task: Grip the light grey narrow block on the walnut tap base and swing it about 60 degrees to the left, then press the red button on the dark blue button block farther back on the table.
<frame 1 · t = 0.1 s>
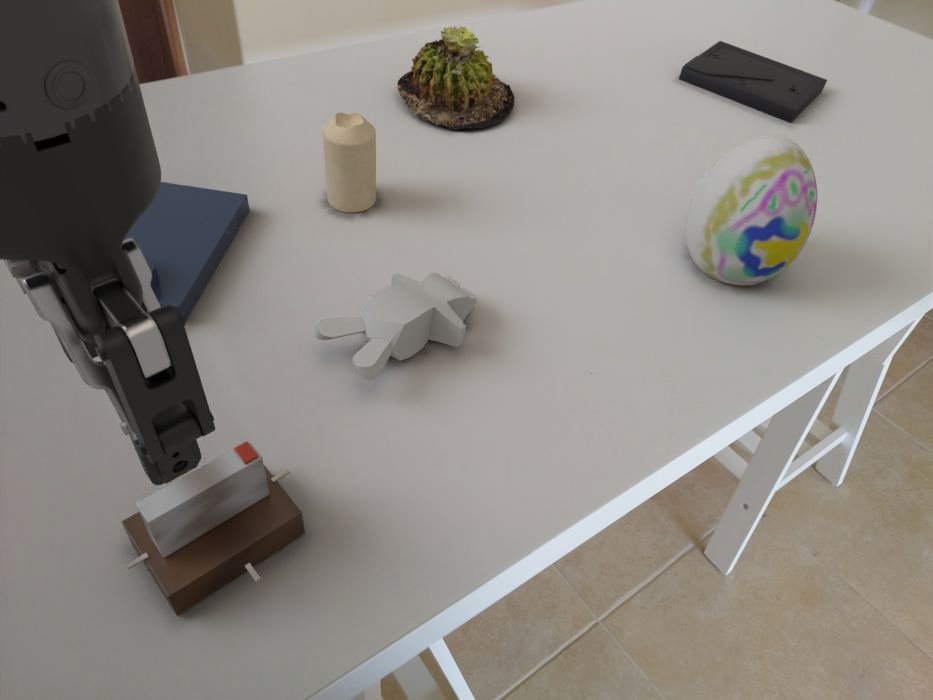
hand: (132, 408, 33), 22 cm above the table, tool pointing down, fingers open, 8 cm apart
decorative egg: (728, 263, 81), on the table
tap base: (219, 538, 54), on the table
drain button: (118, 263, 66), point 4 cm above the table, slide at 0.1 cm
candle: (351, 200, 83), on the table
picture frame: (750, 86, 112), on the table
button block: (161, 254, 74), on the table
bunny figurine: (402, 340, 69), on the table
cactus: (455, 100, 101), on the table
light grey narrow block: (206, 497, 50), point 5 cm above the table, hinge at 0.0°
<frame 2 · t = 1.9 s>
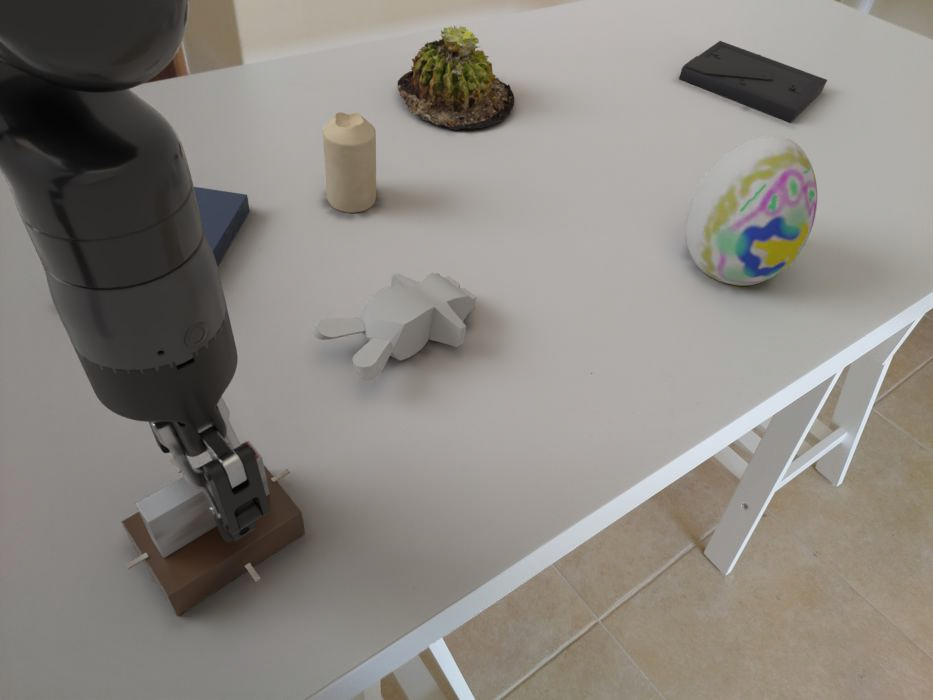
hand: (207, 486, 49), 7 cm above the table, tool pointing down, fingers open, 8 cm apart
nothing on the table moved.
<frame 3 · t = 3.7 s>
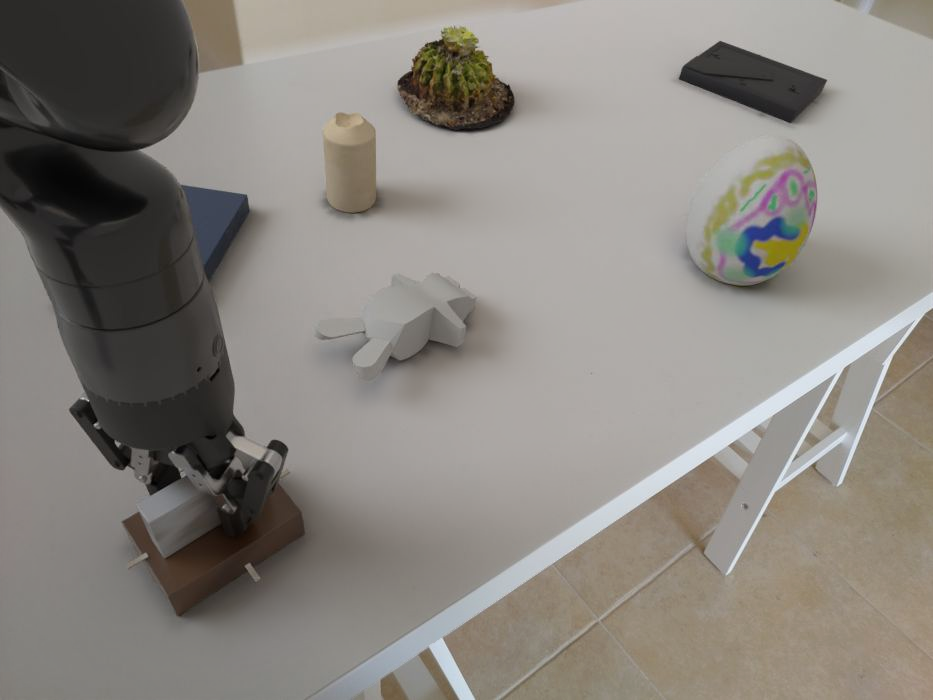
hand: (205, 513, 51), 3 cm above the table, tool pointing down, fingers open, 4 cm apart
light grey narrow block: (206, 497, 50), point 5 cm above the table, hinge at 1.1°
everything else where it was.
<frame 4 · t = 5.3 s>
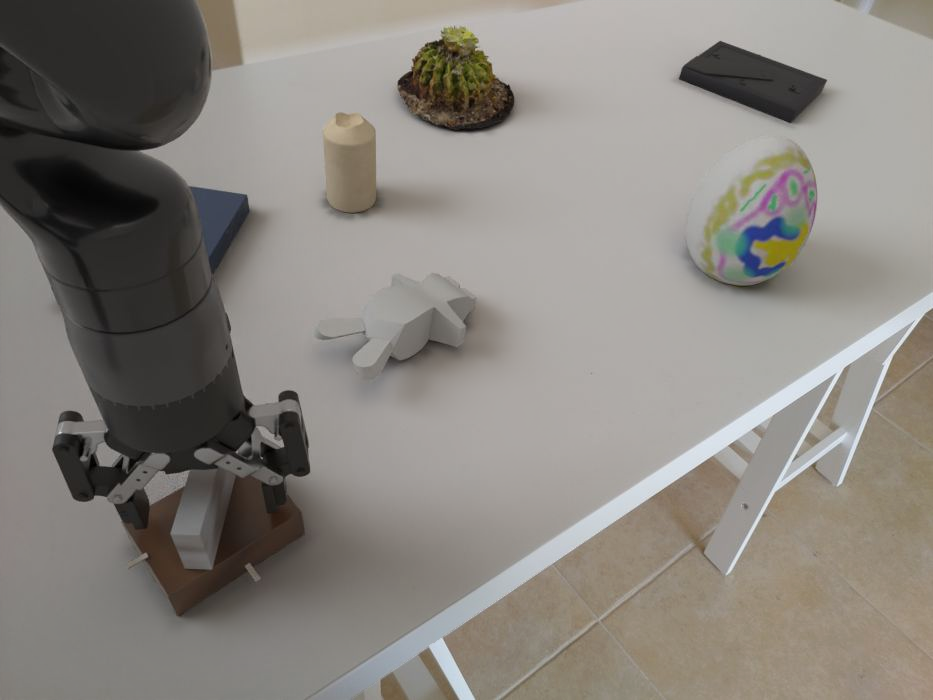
hand: (209, 509, 51), 4 cm above the table, tool pointing down, fingers open, 8 cm apart
light grey narrow block: (206, 497, 50), point 5 cm above the table, hinge at 49.0°
everything else where it was.
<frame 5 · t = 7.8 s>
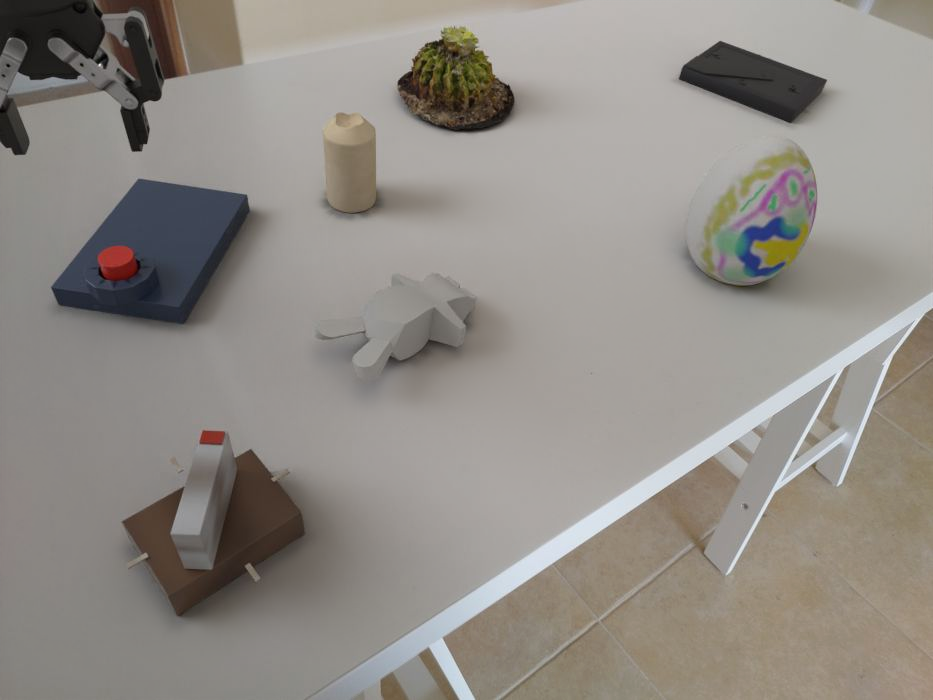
hand: (81, 148, 58), 16 cm above the table, tool pointing down, fingers open, 8 cm apart
nothing on the table moved.
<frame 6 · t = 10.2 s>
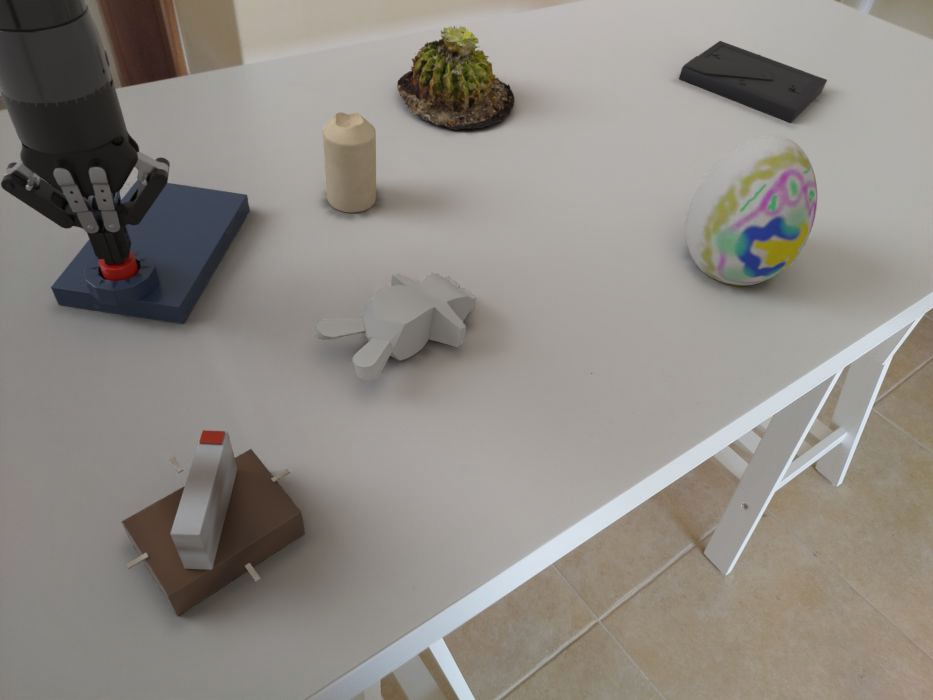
hand: (117, 258, 66), 5 cm above the table, tool pointing down, fingers closed
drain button: (119, 266, 66), point 4 cm above the table, slide at -0.2 cm, touching gripper
everything else where it was.
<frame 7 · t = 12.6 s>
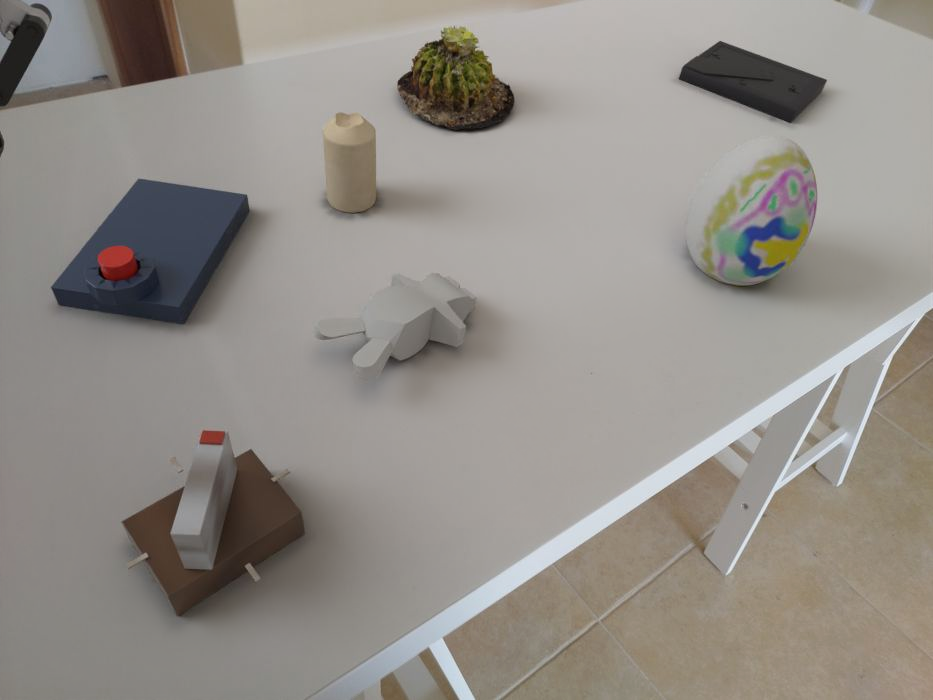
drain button: (118, 263, 66), point 4 cm above the table, slide at 0.1 cm
everything else where it was.
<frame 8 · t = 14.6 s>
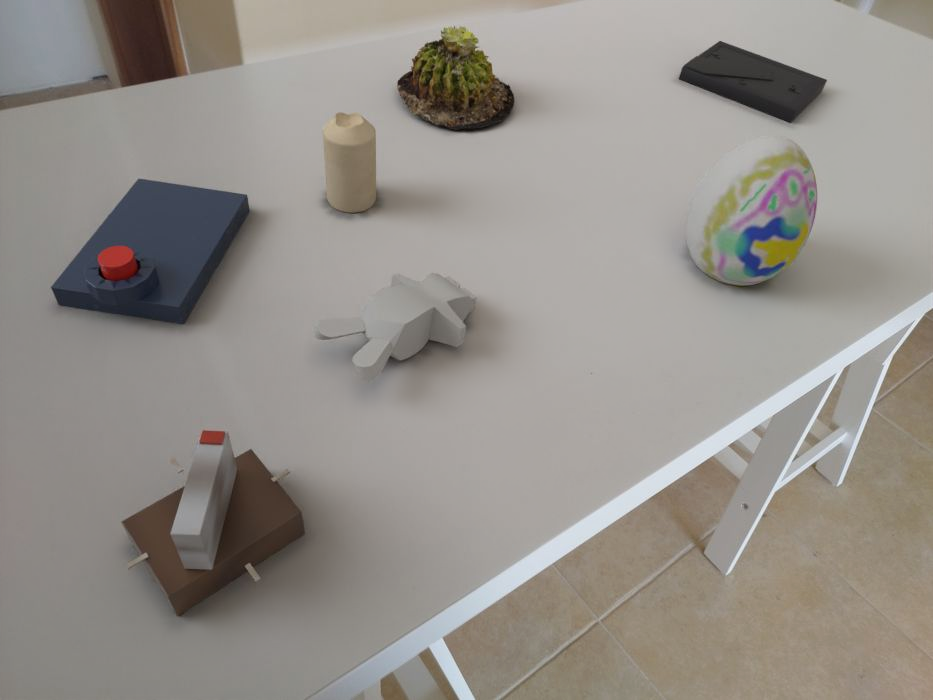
nothing on the table moved.
at the end: light grey narrow block at +49° (first picture: +0°); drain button pushed in 1.0 cm at the most during the clip, back to where it started at the end; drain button slide at 0.1 cm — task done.
